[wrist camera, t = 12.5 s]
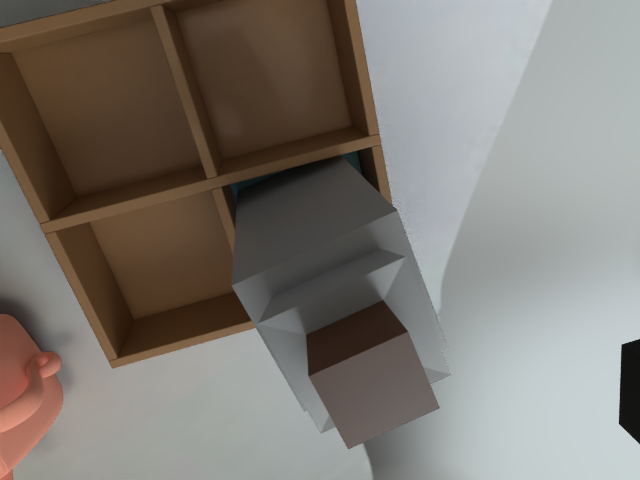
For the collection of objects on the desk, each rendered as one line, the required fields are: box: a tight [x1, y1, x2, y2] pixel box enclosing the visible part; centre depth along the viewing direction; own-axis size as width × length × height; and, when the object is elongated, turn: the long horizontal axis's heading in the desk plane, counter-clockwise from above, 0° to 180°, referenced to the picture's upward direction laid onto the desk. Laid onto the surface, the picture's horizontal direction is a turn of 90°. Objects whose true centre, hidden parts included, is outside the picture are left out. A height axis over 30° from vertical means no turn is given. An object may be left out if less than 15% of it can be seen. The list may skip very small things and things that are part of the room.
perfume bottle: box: [232, 155, 451, 449], centre depth 23 cm, size 7×7×18 cm
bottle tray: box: [0, 0, 392, 368], centre depth 27 cm, size 19×19×5 cm
